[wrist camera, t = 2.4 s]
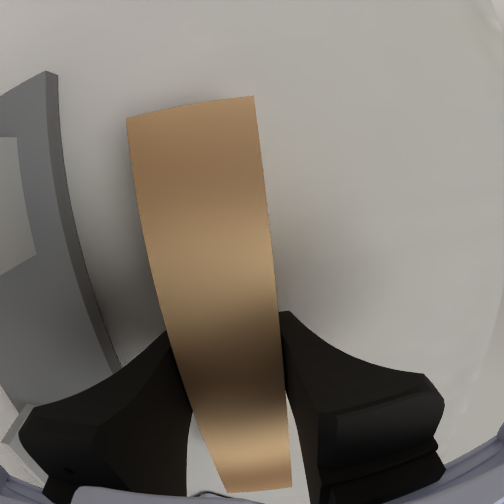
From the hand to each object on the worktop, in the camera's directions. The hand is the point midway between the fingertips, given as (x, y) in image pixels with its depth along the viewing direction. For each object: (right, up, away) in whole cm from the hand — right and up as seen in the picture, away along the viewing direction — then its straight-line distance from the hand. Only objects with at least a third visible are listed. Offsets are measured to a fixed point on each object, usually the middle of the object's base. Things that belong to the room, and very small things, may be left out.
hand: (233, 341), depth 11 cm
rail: (0, 0, +1) cm, 2 cm away
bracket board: (-11, -1, +1) cm, 11 cm away
